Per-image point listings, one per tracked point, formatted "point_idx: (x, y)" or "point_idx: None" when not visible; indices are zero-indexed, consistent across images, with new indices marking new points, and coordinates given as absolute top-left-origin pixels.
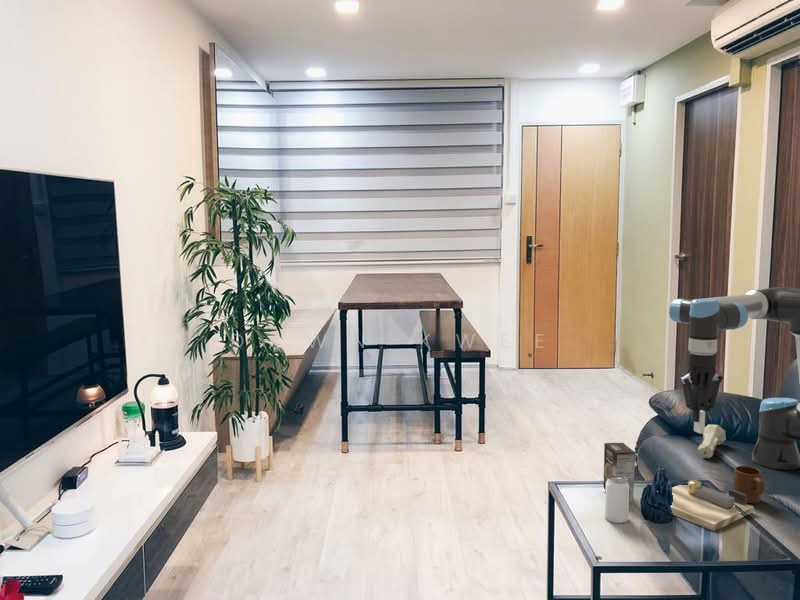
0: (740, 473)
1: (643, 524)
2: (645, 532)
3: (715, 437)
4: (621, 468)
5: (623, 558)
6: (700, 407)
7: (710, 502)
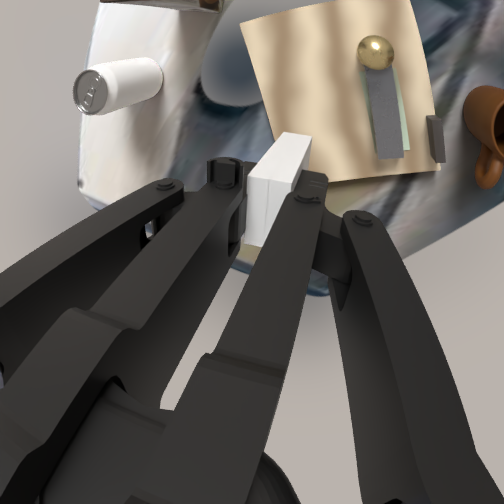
0: (489, 128)
1: (178, 111)
2: (165, 139)
3: None
4: (144, 4)
5: (104, 196)
6: (231, 259)
7: (369, 107)
